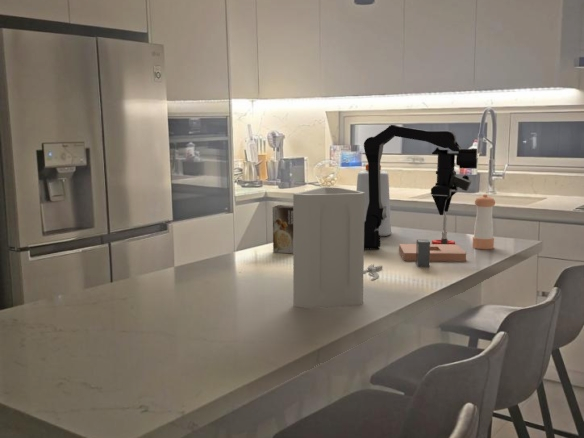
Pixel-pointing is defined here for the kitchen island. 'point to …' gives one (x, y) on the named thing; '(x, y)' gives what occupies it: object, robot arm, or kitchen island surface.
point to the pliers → (373, 271)
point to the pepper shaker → (484, 223)
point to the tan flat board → (434, 252)
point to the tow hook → (444, 234)
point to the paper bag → (328, 247)
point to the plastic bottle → (385, 199)
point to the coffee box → (283, 229)
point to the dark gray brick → (422, 252)
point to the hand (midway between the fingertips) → (443, 213)
